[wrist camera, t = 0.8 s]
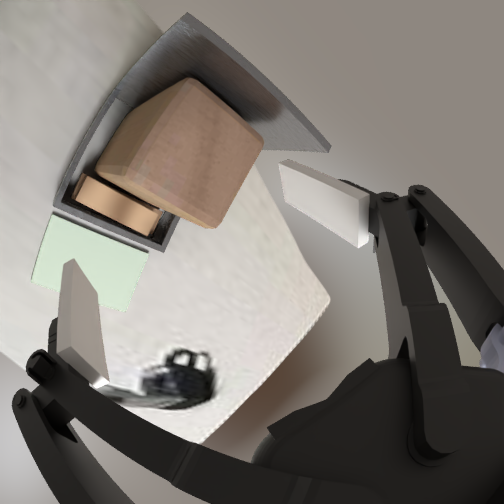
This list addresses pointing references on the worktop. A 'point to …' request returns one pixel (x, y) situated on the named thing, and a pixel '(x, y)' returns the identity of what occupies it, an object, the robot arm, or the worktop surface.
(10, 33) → the worktop surface
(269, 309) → the worktop surface
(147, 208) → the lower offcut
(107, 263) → the mat
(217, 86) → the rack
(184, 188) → the wooden block
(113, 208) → the upper offcut
